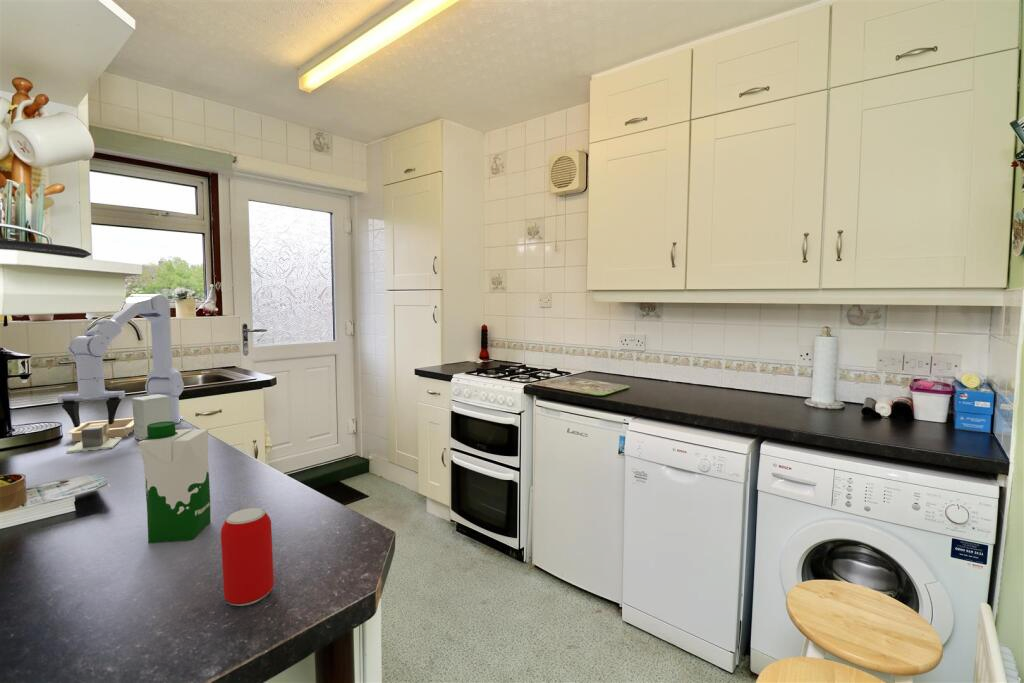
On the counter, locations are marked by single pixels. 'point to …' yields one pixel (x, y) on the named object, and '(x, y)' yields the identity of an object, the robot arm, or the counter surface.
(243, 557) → the beverage can
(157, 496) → the milk carton
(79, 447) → the tile
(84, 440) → the block
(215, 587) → the counter surface
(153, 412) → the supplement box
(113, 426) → the wooden tray
